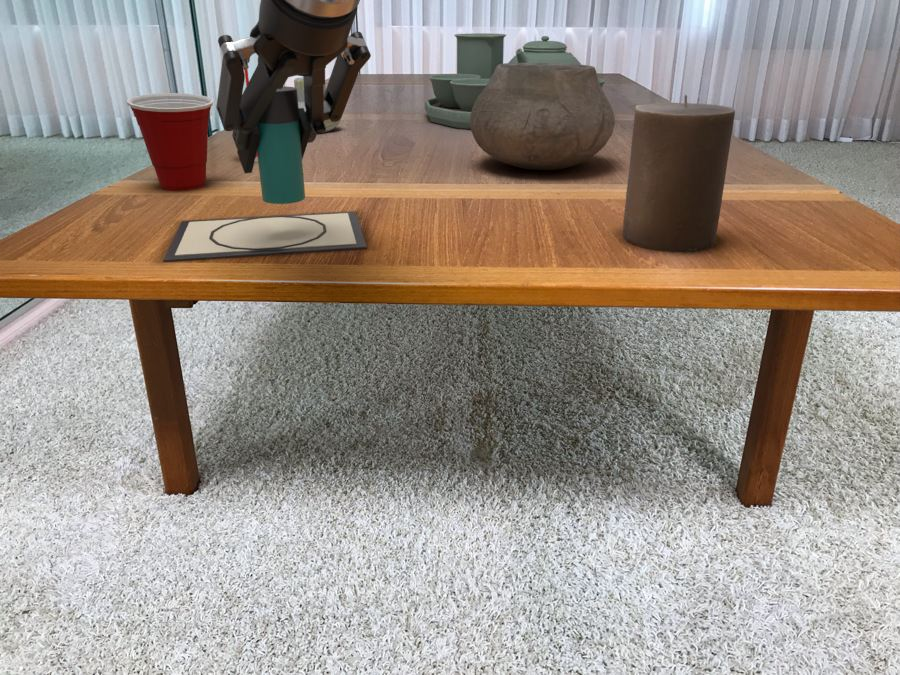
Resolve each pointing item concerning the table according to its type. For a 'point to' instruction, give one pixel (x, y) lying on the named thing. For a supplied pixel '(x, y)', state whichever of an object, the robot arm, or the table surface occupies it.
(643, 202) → the pillar candle
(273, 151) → the dot marker
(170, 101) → the plastic cup
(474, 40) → the tea set
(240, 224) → the drawing board
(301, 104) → the air freshener
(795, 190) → the table surface
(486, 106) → the clay pot
